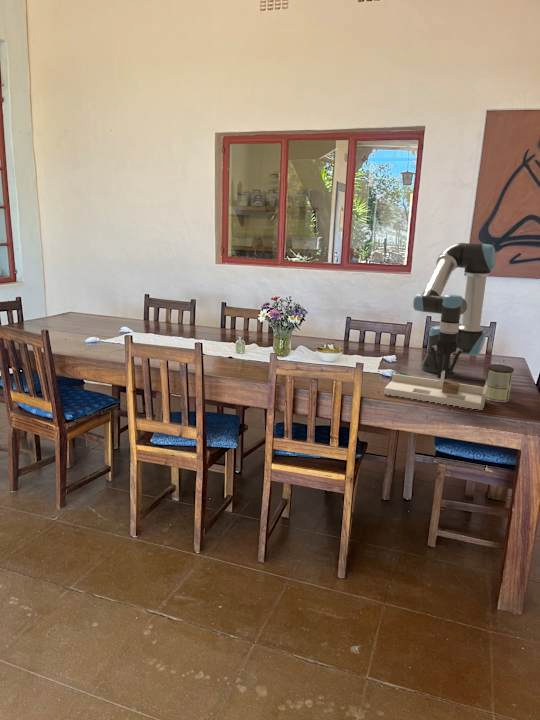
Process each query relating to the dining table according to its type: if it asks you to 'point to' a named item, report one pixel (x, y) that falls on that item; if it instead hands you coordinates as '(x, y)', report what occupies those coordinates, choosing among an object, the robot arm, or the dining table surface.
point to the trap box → (436, 391)
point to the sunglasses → (400, 374)
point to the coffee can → (498, 382)
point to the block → (450, 387)
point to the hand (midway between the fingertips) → (441, 385)
